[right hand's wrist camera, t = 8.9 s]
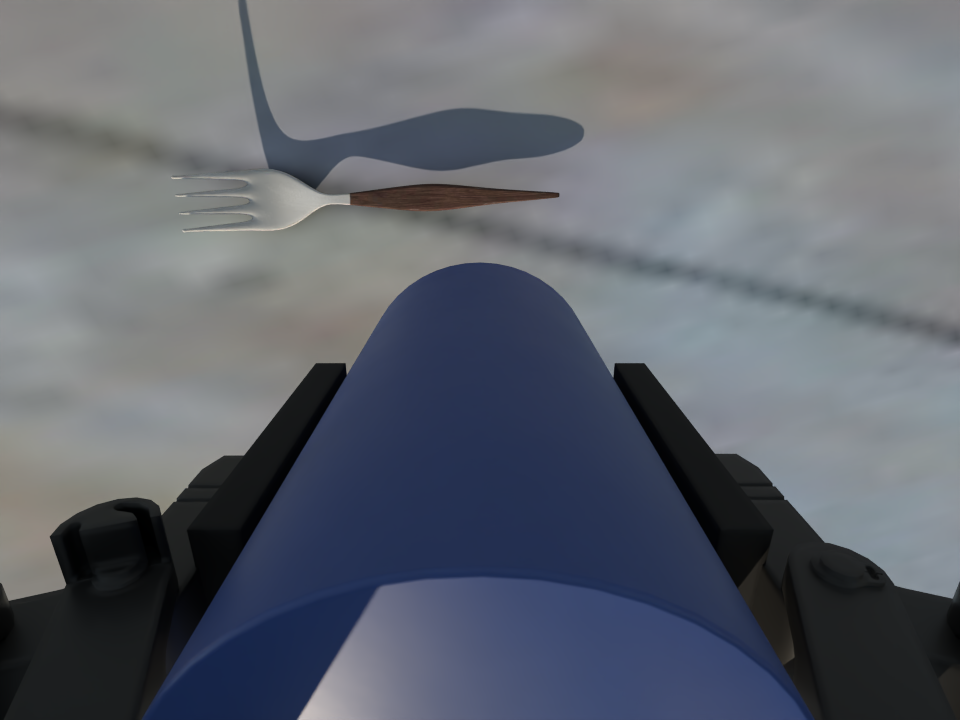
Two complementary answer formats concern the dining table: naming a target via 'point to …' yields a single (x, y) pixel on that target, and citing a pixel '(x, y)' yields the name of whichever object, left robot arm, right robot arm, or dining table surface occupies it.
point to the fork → (335, 198)
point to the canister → (478, 544)
